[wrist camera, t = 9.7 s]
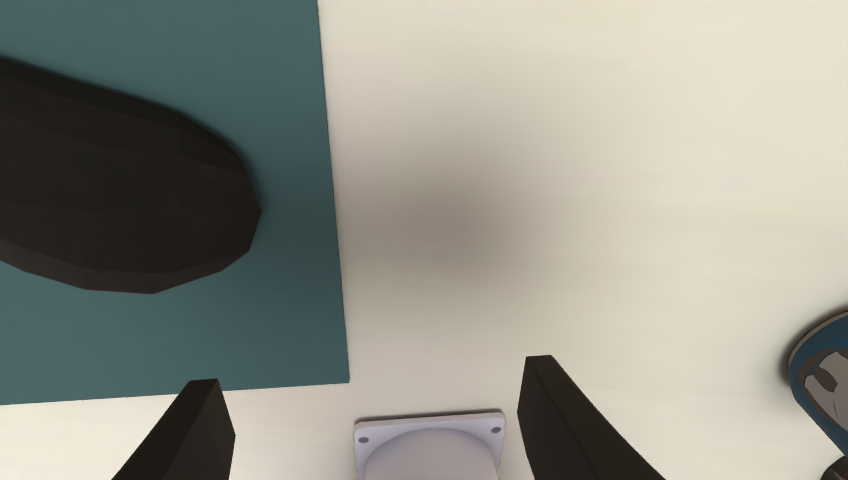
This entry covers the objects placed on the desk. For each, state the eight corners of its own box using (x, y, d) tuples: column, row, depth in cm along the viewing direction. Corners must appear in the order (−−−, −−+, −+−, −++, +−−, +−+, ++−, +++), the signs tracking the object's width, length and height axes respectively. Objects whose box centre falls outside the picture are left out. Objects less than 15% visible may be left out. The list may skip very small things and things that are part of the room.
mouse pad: (349, 378, 24) (349, 383, 24) (-55, 403, 22) (-59, 409, 22) (285, -360, 11) (284, -366, 11) (-678, -434, 10) (-708, -443, 9)
